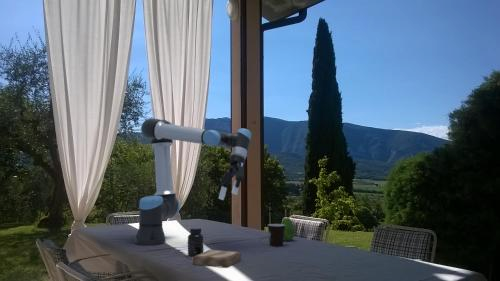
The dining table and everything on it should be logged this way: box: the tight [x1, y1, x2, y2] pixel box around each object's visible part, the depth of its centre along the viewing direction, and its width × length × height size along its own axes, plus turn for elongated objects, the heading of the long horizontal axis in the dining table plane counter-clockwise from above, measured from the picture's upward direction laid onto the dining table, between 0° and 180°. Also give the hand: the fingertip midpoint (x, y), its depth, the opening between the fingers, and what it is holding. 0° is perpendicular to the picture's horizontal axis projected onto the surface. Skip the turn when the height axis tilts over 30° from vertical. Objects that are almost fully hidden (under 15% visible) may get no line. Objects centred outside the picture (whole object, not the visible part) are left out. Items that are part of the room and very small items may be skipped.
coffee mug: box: [267, 223, 285, 247], centre depth 220 cm, size 12×9×10 cm
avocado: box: [281, 217, 296, 242], centre depth 232 cm, size 8×8×12 cm
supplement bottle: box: [187, 227, 204, 258], centre depth 192 cm, size 7×7×12 cm
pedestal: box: [192, 249, 242, 268], centre depth 179 cm, size 15×15×3 cm
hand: (227, 196), depth 208 cm, fingers open, 13 cm apart
